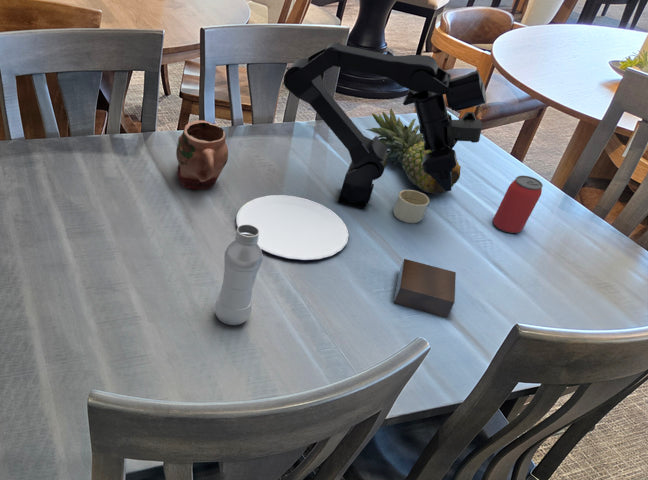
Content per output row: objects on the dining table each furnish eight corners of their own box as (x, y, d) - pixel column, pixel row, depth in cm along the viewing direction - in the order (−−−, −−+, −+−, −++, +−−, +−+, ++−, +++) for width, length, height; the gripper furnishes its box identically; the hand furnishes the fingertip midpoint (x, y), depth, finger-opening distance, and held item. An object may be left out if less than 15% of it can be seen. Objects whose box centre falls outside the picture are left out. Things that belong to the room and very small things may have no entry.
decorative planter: (235, 203, 148) (244, 150, 139) (185, 208, 146) (191, 154, 137) (210, 161, 163) (216, 111, 154) (164, 165, 160) (168, 114, 151)
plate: (212, 227, 140) (213, 222, 139) (275, 187, 155) (276, 182, 154) (309, 279, 128) (310, 274, 127) (367, 230, 142) (369, 226, 142)
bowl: (391, 219, 147) (397, 201, 143) (393, 204, 151) (400, 187, 148) (421, 226, 145) (428, 208, 142) (423, 211, 150) (430, 194, 147)
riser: (393, 302, 124) (400, 287, 121) (398, 273, 131) (404, 258, 128) (447, 317, 121) (454, 302, 118) (448, 287, 128) (455, 272, 126)
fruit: (477, 155, 148) (404, 91, 167) (430, 172, 147) (362, 106, 166) (464, 197, 158) (397, 133, 177) (420, 214, 157) (357, 147, 176)
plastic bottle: (210, 306, 120) (224, 219, 107) (245, 305, 121) (263, 219, 108) (216, 330, 115) (231, 242, 102) (252, 329, 116) (272, 241, 103)
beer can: (525, 236, 144) (549, 191, 136) (495, 232, 145) (517, 187, 137) (517, 220, 149) (540, 176, 141) (488, 216, 150) (510, 172, 142)
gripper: (475, 122, 122) (491, 192, 129) (474, 90, 136) (489, 154, 142) (414, 138, 128) (432, 204, 135) (420, 105, 142) (436, 167, 148)
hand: (449, 181), depth 140 cm, fingers open, 9 cm apart
